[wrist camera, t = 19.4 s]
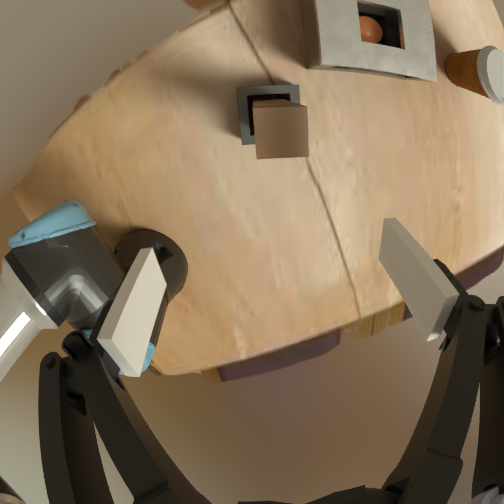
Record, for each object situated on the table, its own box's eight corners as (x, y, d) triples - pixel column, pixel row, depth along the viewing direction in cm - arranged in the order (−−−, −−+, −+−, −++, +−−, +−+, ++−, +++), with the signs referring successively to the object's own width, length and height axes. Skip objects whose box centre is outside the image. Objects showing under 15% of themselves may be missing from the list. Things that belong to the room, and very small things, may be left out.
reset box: (307, 69, 32) (322, 64, 24) (299, -6, 24) (311, -28, 17) (404, 79, 31) (436, 82, 23) (398, 9, 24) (428, -1, 16)
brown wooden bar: (255, 126, 37) (256, 159, 20) (253, 100, 34) (252, 108, 18) (282, 124, 36) (308, 156, 20) (281, 98, 34) (307, 106, 18)
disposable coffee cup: (468, 104, 31) (513, 118, 21) (433, 78, 30) (479, 84, 20) (477, 64, 26) (522, 71, 16) (442, 35, 24) (488, 33, 15)
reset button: (344, 45, 29) (354, 41, 25) (342, 19, 26) (351, 13, 23) (372, 48, 28) (383, 46, 25) (369, 23, 26) (380, 19, 23)
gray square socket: (243, 139, 38) (241, 145, 35) (238, 88, 33) (236, 87, 30) (297, 136, 37) (301, 141, 34) (294, 85, 33) (298, 84, 30)
